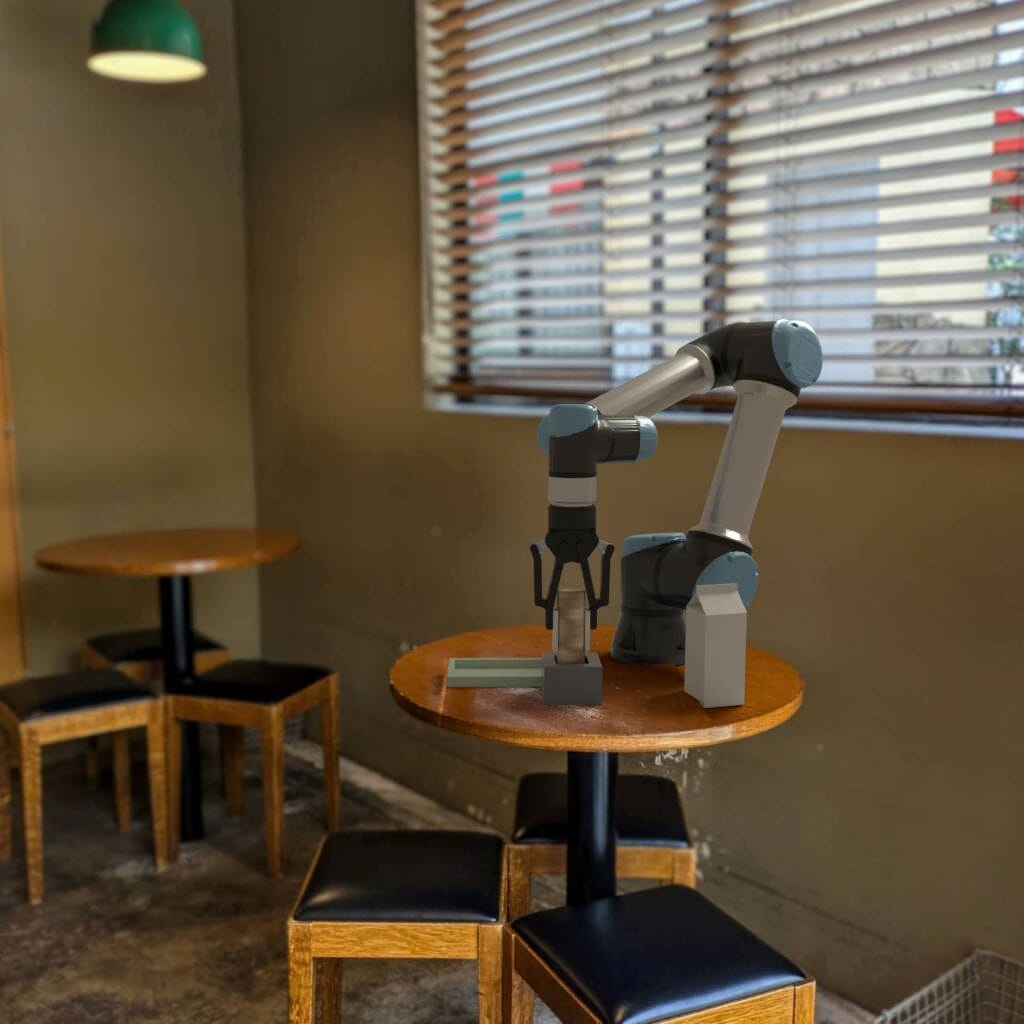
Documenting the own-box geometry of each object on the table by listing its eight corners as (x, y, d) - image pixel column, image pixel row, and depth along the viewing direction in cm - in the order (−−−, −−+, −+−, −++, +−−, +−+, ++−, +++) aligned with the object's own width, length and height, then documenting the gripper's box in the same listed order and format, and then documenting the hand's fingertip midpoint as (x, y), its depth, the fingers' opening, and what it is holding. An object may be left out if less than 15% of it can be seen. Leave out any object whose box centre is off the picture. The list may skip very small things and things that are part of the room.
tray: (552, 672, 193) (552, 657, 193) (556, 692, 181) (556, 676, 181) (449, 673, 193) (449, 658, 192) (446, 692, 181) (446, 676, 180)
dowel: (583, 692, 178) (584, 588, 176) (585, 700, 173) (586, 594, 171) (555, 692, 178) (556, 588, 176) (557, 700, 173) (558, 594, 171)
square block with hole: (596, 694, 180) (596, 652, 179) (601, 710, 171) (602, 666, 170) (541, 694, 180) (541, 652, 179) (544, 710, 171) (544, 667, 170)
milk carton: (744, 705, 174) (747, 587, 172) (703, 709, 172) (706, 590, 170) (723, 693, 181) (726, 579, 179) (683, 696, 179) (686, 581, 177)
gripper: (624, 500, 176) (622, 643, 179) (515, 500, 175) (515, 643, 178) (630, 506, 168) (628, 655, 171) (517, 506, 168) (516, 655, 171)
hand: (570, 649), depth 175 cm, fingers closed on dowel, 4 cm apart
